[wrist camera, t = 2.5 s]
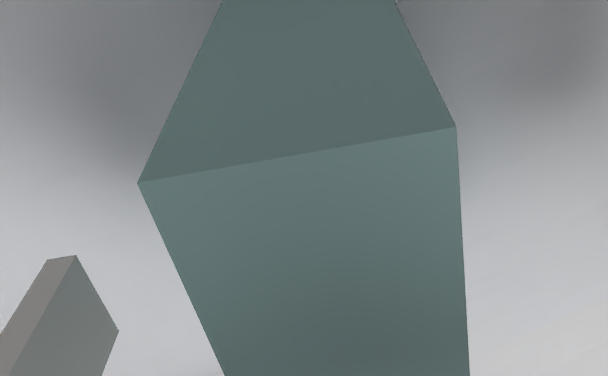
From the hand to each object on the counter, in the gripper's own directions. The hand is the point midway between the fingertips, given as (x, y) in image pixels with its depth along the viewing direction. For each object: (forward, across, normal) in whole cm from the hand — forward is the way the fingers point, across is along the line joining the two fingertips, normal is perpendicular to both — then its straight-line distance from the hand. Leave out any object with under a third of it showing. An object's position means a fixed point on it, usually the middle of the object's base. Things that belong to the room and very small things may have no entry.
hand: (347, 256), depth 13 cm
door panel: (+7, 0, +1) cm, 7 cm away
